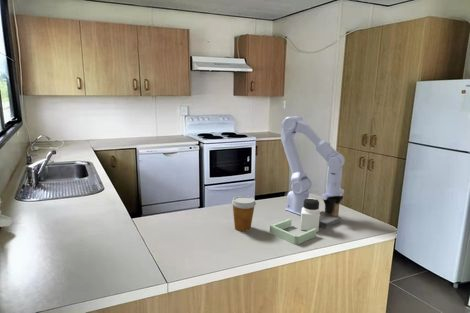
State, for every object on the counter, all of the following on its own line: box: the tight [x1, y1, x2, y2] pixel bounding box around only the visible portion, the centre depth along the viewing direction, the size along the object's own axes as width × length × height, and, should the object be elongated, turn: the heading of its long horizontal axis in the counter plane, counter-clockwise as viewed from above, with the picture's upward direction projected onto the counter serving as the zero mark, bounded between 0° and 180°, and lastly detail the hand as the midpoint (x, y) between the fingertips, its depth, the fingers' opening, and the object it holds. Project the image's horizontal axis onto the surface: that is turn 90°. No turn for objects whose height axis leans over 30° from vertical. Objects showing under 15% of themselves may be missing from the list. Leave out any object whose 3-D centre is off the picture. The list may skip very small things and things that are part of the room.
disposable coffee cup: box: [231, 195, 257, 232], centre depth 128 cm, size 10×10×12 cm
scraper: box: [319, 203, 341, 229], centre depth 138 cm, size 9×12×7 cm
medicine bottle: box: [299, 197, 321, 233], centre depth 130 cm, size 7×7×12 cm
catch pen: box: [269, 218, 317, 246], centre depth 124 cm, size 13×12×3 cm
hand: (331, 212), depth 141 cm, fingers open, 3 cm apart
